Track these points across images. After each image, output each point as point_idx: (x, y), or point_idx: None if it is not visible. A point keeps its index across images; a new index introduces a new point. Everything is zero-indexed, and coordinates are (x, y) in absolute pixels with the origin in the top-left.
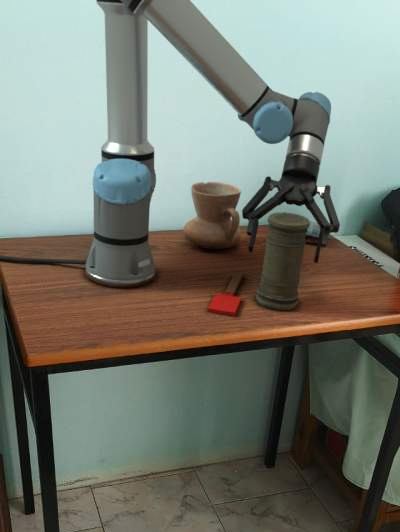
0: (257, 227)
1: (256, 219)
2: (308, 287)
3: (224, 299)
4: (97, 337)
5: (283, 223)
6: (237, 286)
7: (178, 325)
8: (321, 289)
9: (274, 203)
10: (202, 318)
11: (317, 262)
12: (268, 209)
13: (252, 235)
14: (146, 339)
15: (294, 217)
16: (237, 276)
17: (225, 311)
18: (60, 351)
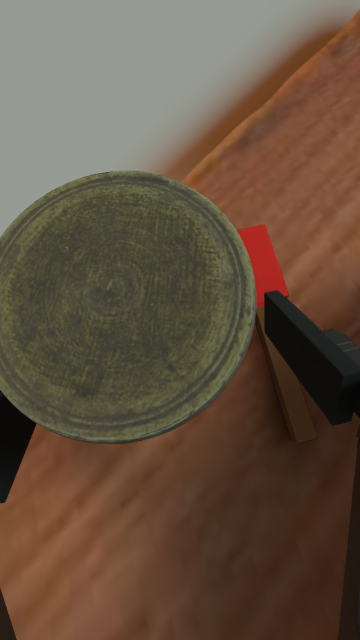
0: (317, 389)
1: (345, 366)
2: (126, 494)
3: (258, 277)
4: (347, 68)
5: (115, 177)
6: (270, 363)
7: (274, 157)
8: (93, 503)
9: (355, 573)
10: (255, 200)
11: None
12: (356, 509)
13: (293, 313)
14: (287, 97)
15: (86, 334)
16: (296, 410)
17: None
18: (357, 20)
